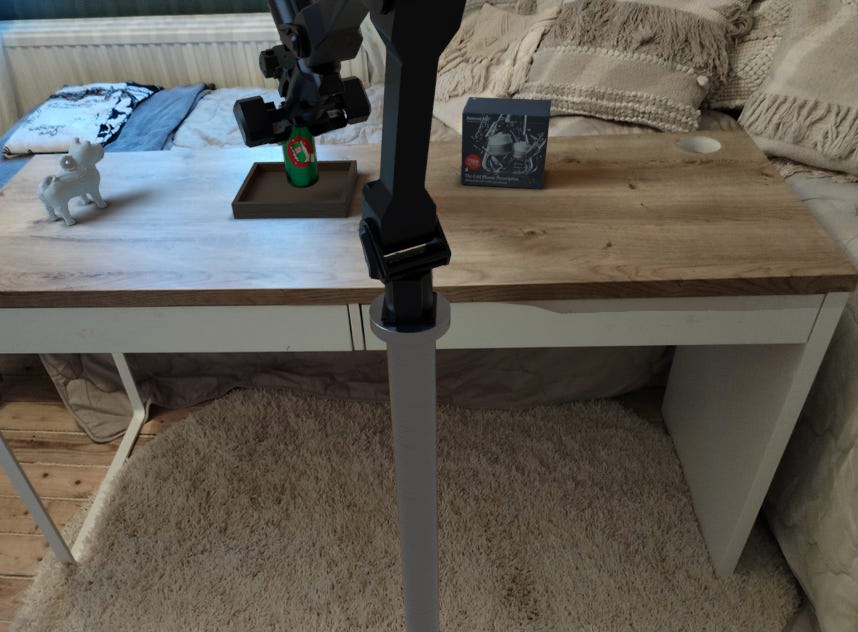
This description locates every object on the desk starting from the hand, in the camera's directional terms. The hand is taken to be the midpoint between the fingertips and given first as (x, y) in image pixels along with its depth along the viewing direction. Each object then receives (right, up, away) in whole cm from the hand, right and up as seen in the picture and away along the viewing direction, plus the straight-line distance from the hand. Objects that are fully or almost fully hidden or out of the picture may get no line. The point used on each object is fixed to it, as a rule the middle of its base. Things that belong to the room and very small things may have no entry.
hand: (295, 138), depth 106 cm
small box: (+33, -4, +9) cm, 34 cm away
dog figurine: (-36, -9, +9) cm, 38 cm away
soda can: (+1, -6, +3) cm, 7 cm away
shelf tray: (0, -7, +8) cm, 11 cm away
